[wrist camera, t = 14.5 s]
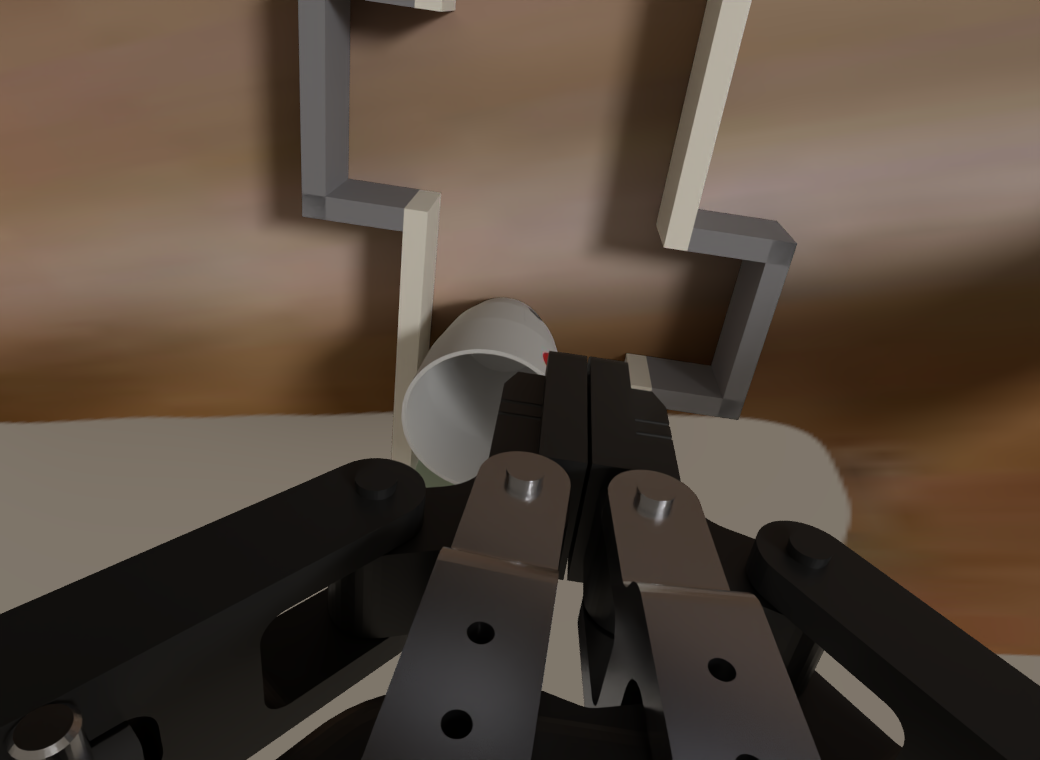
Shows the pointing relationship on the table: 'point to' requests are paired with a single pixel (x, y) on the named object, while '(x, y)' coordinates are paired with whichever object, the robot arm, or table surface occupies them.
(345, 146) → the box
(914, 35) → the table surface
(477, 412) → the cup
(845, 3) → the table surface
